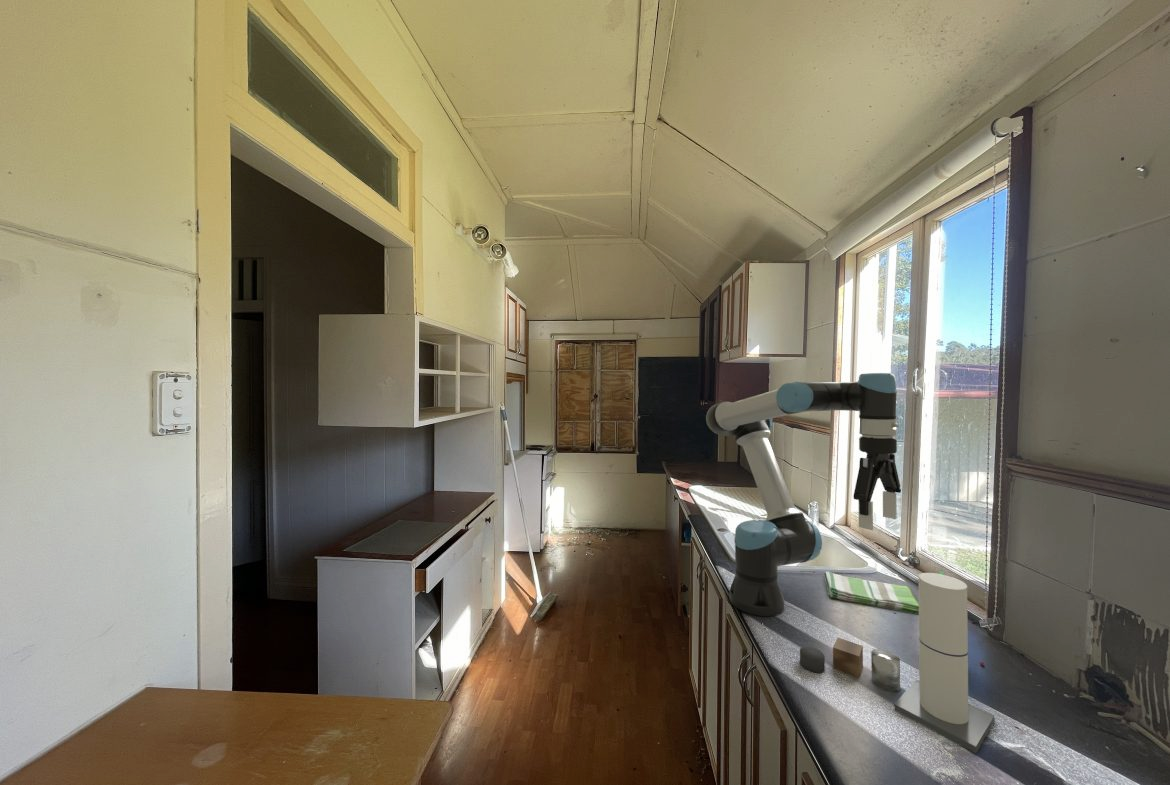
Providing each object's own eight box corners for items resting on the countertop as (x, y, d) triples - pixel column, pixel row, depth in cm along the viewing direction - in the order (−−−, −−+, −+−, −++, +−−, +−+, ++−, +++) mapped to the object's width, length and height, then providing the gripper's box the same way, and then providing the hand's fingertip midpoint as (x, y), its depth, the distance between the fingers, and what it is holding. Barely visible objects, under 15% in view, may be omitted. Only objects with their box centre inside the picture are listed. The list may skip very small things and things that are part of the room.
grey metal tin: (867, 682, 90) (867, 654, 90) (877, 672, 92) (877, 646, 92) (894, 695, 86) (894, 667, 86) (904, 686, 88) (903, 658, 88)
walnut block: (833, 669, 94) (833, 647, 94) (837, 658, 98) (837, 637, 98) (859, 679, 91) (859, 656, 91) (862, 667, 94) (862, 645, 94)
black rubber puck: (795, 664, 96) (795, 652, 96) (806, 656, 98) (806, 644, 98) (817, 677, 92) (817, 663, 92) (828, 668, 94) (828, 655, 94)
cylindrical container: (919, 711, 80) (918, 582, 80) (919, 690, 85) (918, 569, 85) (970, 730, 75) (968, 593, 75) (966, 707, 81) (965, 579, 81)
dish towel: (823, 577, 141) (823, 566, 141) (907, 590, 131) (907, 579, 131) (828, 600, 126) (828, 588, 125) (924, 617, 116) (924, 604, 116)
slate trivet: (894, 709, 82) (894, 703, 82) (917, 685, 89) (917, 679, 89) (975, 753, 72) (975, 746, 72) (994, 721, 79) (994, 715, 79)
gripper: (872, 441, 91) (873, 537, 91) (915, 433, 105) (916, 517, 105) (836, 438, 97) (837, 528, 97) (881, 431, 111) (882, 510, 111)
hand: (878, 523), depth 101 cm, fingers open, 13 cm apart
